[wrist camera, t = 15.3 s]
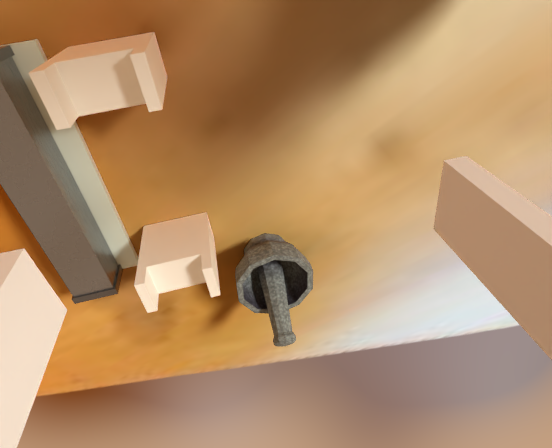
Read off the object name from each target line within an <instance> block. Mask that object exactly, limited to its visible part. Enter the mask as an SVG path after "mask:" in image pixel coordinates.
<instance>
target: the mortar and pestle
mask: <svg viewBox="0 0 552 448" xmlns="http://www.w3.org/2000/svg"><path fill="white" fill-rule="evenodd" d="M235 278H236V285H237V292H238V299H239V302H240V303H241V304H243V305H244V306H246V307H247V308H249V309H250V310H252V311H253V312H254V313H269V317H270V321H271V325H272V329H273V333H274V339H273V342H274V345H275V346H287V345H290V344H292V343H294V342H295V341H296V337H295V334H294V333H293V332H292V326H291V320H290V313H289V309H290V308H292V307H295V306H297V305H299V304H300V303H301V302H302V301H303V299H304V298H305V297H306V296H307V295H308V294H309V292H310V291H311V290H312V289H313V269H312V267H311V265H310V263H309V261H308V260H307V259H306V257H305V256H304V255H303V254H302V253H301V252H299V251H298V250H297V249H296V248H295V247H294V246H293V245H292V244H290V243H288V242H285V241H284V240H283V239H282V238H281V237H280V236H279V235H275V234H266V233H264V234H262V235H259V236H257V237H255V238H253V239H251V240H250V241H249V243H248V244H247V246H246V247H245V249H244V257H243V258H242V259H241V261H240V262H239V264H238V265H237V267H236V272H235Z"/></svg>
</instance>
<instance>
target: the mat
mask: <svg viewBox="0 0 552 448" xmlns="http://www.w3.org/2000/svg"><path fill="white" fill-rule="evenodd" d="M6 45H10V47H11V49H12V50H13V52H14V54H15V55H14V56H12V58H13V60H14V62H15V64H16V66H17V68H18V70H19V72H20V73H21V75H22V77H23V79H24V81H25V83H26V85H27V87H28V89H29V91H30V93H31V95H32V97H33V99H34V101H35V103H36V105H37V107H38V109H39V111H40V113H41V115H42V117H43V119H44V120H45V122H46V124H47V126H48V128H49V130H50V132H51V134H52V136H53V138H54V140H55V142H56V144H57V146H58V148H59V150H60V152H61V154H62V156H63V158H64V160H65V162H66V164H67V166H68V168H69V169H70V171H71V173H72V175H73V177H74V179H75V181H76V183H77V185H78V187H79V189H80V191H81V193H82V195H83V197H84V199H85V201H86V203H87V205H88V207H89V209H90V211H91V213H92V215H93V217H94V218H95V220H96V222H97V224H98V226H99V228H100V230H101V232H102V234H103V236H104V238H105V240H106V242H107V244H108V246H109V248H110V250H111V252H112V254H113V256H114V258H115V260H116V262H117V264H118V265H119V264H121V266H122V268H123V269H124V268H129V267H133V266H137V265H138V259H139V258H138V256H137V253H136V251H135V249H134V247H133V245H132V243H131V240H130V238H129V236H128V234H127V232H126V230H125V227H124V225H123V223H122V221H121V219H120V216H119V214H118V212H117V210H116V208H115V206H114V203H113V201H112V199H111V197H110V195H109V193H108V190H107V188H106V186H105V184H104V182H103V179H102V177H101V175H100V173H99V171H98V169H97V166H96V164H95V162H94V160H93V158H92V156H91V153H90V151H89V149H88V147H87V145H86V143H85V140H84V138H83V136H82V134H81V132H80V129H79V127H78V125H77V123H76V121H75V122H74V124H73V125H72V126H71V127H70V128H65V129H60V130H56V128H55V126H54V124H53V122H52V120H51V118H50V116H49V114H48V112H47V110H46V108H45V106H44V104H43V102H42V100H41V98H40V96H39V94H38V91H37V89H36V87H35V85H34V83H33V81H32V79H31V77H30V75H29V72H31V71H32V70H34V69H35V68H37V67H38V66H40V65H41V64H43V63H44V62H46V61H47V58H46V56H45V53H44V51H43V49H42V47H41V45H40V43H39V40H38V39H34V40H28V41H23V42H17V43H11V44H5V45H0V46H6Z"/></svg>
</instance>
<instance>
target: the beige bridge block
mask: <svg viewBox="0 0 552 448" xmlns="http://www.w3.org/2000/svg"><path fill="white" fill-rule="evenodd" d="M29 75H30V77H31V79H32V81H33V83H34V85H35V87H36V89H37V91H38V94H39V96H40V98H41V100H42V102H43V104H44V106H45V108H46V110H47V112H48V114H49V116H50V118H51V120H52V122H53V124H54V126H55V128H56V130H60V129H65V128H70V127H71V126H72V125H73V124H74V122H75V121H76V120H77V118H78V117H79V116H84V115H89V114H95V113H100V112H105V111H110V110H115V109H121V108H126V107H131V106H136V105H141V104H146V105H147V108H148V111H149V112H153V111H158V110H162V109H163V103H164V96H165V90H166V83H167V74H166V70H165V67H164V63H163V60H162V56H161V53H160V50H159V46H158V43H157V39H156V36H155V32H150V33H144V34H139V35H133V36H127V37H122V38H116V39H110V40H104V41H99V42H93V43H87V44H82V45H76V46H70V47H67V48H66V49H64V50H63V51H61V52H60V53H58V54H57V55H55V56H53V57H52V58H50V59H49V60H47V61H46V62H44V63H43V64H41V65H40V66H38V67H37V68H35V69H34V70H32V71H31V72H29Z"/></svg>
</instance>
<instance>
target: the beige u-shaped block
mask: <svg viewBox="0 0 552 448" xmlns="http://www.w3.org/2000/svg"><path fill="white" fill-rule="evenodd" d="M205 282H206V283H207V286H208V289H209V292H210V295H211V297H215V296H219V295H220V286H219V277H218V268H217V259H216V250H215V241H214V236H213V232H212V229H211V225H210V222H209V218H208V215H207V212H204V213H200V214H195V215H191V216H186V217H182V218H177V219H173V220H168V221H164V222H159V223H155V224H150V225H146V226H144V227H143V233H142V240H141V246H140V252H139V259H138V265H137V271H136V277H135V284H134V286H135V288H136V290H137V292H138V294H139V296H140V298H141V300H142V302H143V304H144V306H145V308H146V310H147V312H148V313H149V312H153V311H157V309H158V296H159V293H164V292H168V291H172V290H176V289H180V288H185V287H189V286H193V285H197V284H201V283H205Z"/></svg>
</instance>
